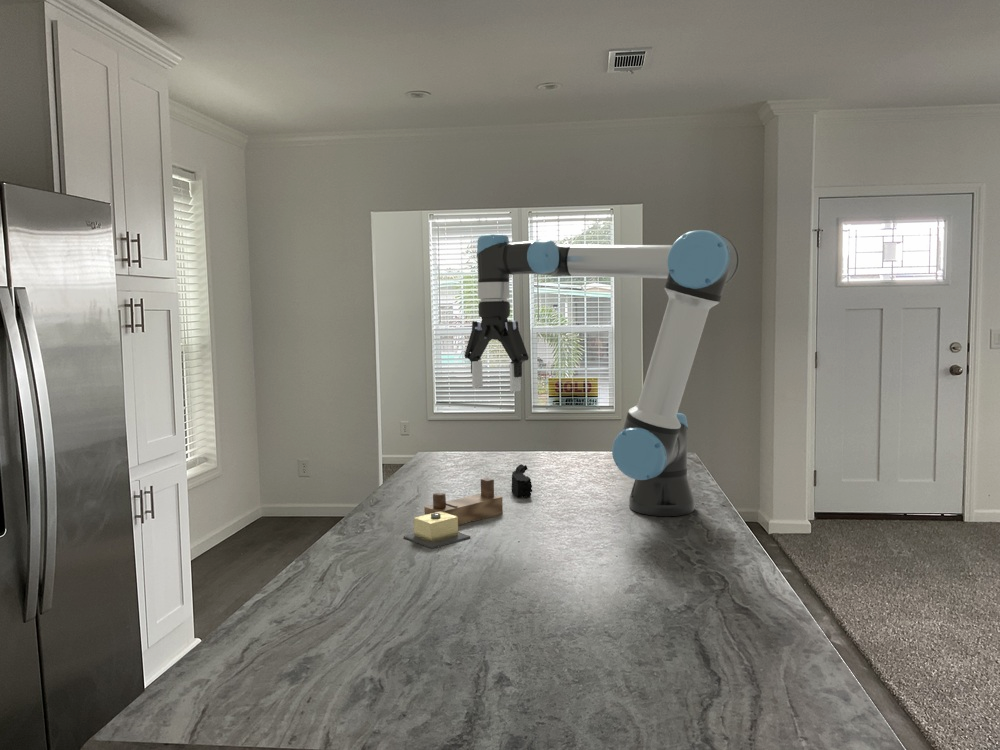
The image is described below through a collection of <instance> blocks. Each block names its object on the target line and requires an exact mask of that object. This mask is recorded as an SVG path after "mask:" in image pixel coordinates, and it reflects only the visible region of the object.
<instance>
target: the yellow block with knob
mask: <svg viewBox="0 0 1000 750" xmlns="http://www.w3.org/2000/svg"><path fill="white" fill-rule="evenodd" d="M413 530H414V532H413V533H414V536H415V537H417V538H420V539H423V540H425V541H428V542H430V543H432V542H436V541H440V540H443V539H447V538H451V537H454V536H458V532H459V525H458V517H457V516H454V515H451V514H447V513H444V512H441V511H440V512H436V513H431V514H427V515H425V514H423V515H420V516H415V517H413Z"/></svg>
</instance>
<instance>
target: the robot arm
mask: <svg viewBox="0 0 1000 750" xmlns="http://www.w3.org/2000/svg"><path fill="white" fill-rule="evenodd" d="M509 240H510V239H509V236H508V235H507V234H502V233H501V234H500V233H499V234H498V233H497V234H496V233H494V234H491V233H490V234H483V235H480V236H479V237H478V238H477V245H476V247H477V250H476V257H477V299H478V300H480V301H479V302H478V316H479V318H481V320H473V321H472V323H471V324H472V325H471V331H470V335H469V339H468V342H467V345H466V348H465V352H464V358H465V359H468V360H469V361H470V372H471V375H472V376H471V379H472V380H471V381H472V382H471V383H472V384H471V385H472V386H471V387H472V389H478V388H483V387H484V380H483V361H482V358H481V357H482V356H483V355H484V353H485V350H486V349H487V347H488V345H489V343H490V341H493V340H495V341H498V342H499V343H501V345H502V347H503V349H504V350H505V352H506V354H507V356H508V357H509V359H510V363H509V391H510V392H511V393H512V392H513V393H514V392H520V391H522V388H521V387H522V386H521V385H522V384H521V383H522V382H521V379H522V378H521V377H522V376H523V368H522V367H523V365H522V364H523V362H525V361H528V360H529V354H528V352H527V349H526V347H525V344H524V341H523V338H522V336H521V333H520V329H519V322H518V321H517V320H508V318H509V317H510V316H511V303H510V301H508V300H509V299H510V298H511V297H510V295H511V294H510V275H511V276H512V275H513V276H514V275H538V276H539V275H541V276H542V275H543V276H552V277H570V276H571V277H598V278H599V277H600V278H601V277H603V278H633V279H634V278H637V279H638V278H640V279H666V282H665V285H664V291H665V293H666V294H667V297H668V301H667V304H666V308H665V311H664V314H663V318H662V321H661V325H660V327H659V332H658V334H657V338H656V341H655V344H654V348H653V352H652V353H651V354H652V355H651V358H650V362H649V365H648V368H647V372H646V375H645V378H644V381H643V385H642V388H641V392H640V395H639V399H638V402H637V404H636V405H635V406H633V407H630V408H629V409H628V412H627V415H626V417H625V420H624V425H623V427H622V430H621V431H620V432H618V434H617V435H616V437H615V438H614V440H613V443H612V447H611V448H612V449H611V454H612V459H613V462H614V464H615V465H616V467H617V469H618V470H619V471H620V472H621V473H622V474H623V475H625V476H626V477H628V478H630V479H633V480H634V482H633V485H632V488H631V492H630V495H629V497H628V498H629V499H628V502H629V503H628V507H629V509H630V510H632V511H633V512H636V513H639V514H643V515H647V516H654V517H678V516H684V515H688V514H691V513H693V512H694V511H695V498H694V496H693V492H692V488H691V485H690V482H689V480H688V479H689V478H688V429H689V425H688V418H687V416H686V415H685V413H681V412H679V408H680V406H681V403H682V399H683V396H684V393H685V389H686V387H687V383H688V380H689V377H690V374H691V370H692V367H693V364H694V360H695V357H696V355H697V350H698V348H699V343H700V341H701V337H702V334H703V331H704V328H705V325H706V321H707V318H708V316H709V311H710V310H711V309H712V308H713V307H716V305H719V304H720V302H721V298H722V296H723V292H724V289H725V287H726V285H727V284H728V283H729V282H730V281H731V280H733V278H734V277H735V276H736V275H737V272H738V270H739V267H740V254H739V250H738V248H737V247H736V245H735V244H734V243H733V242H732V240H730V239H729V238H727V237H725V236H723V235H721V234H719V233H717V232H714V231H713V230H704V229H697V230H692V231H688V232H686V233H683V234H682V235H680V237H678V238H677V239H676V240H675V241H674V242H673V244H556V243H555V242H554V241H553V240H551V239H545V240H544V239H536V240H528V241H516V242H515V241H514V242H513V241H512V242H510V241H509Z"/></svg>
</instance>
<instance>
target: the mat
mask: <svg viewBox="0 0 1000 750" xmlns="http://www.w3.org/2000/svg"><path fill="white" fill-rule="evenodd" d="M467 538H469V539H471V536H470V535H468V534H465V533H462V532H459V531H458V536H454V537H451V538H447V539H443V540H440V541H436V542H432V543H430V542H428V541H425V540H423V539H420V538H417V537H415V536H414V532H413V533H410V534H406V535H403V539H406V540H408V541H411V542H413V543H416V544H418V543H419V544H418V545H421V546H423V545H424V547H426V546H427V548H428V547H429V548H428V549H431V548H433V549H436V548H435V547H437V548H439V547H438V546H440V547H443V546H442V545H444V546H446V545H445V544H447V545H450V544H449V543H451V544H454V543H457V542H456V541H458V542H461V541H460V540H462V541H464V540H463V539H465V540H468V539H467ZM453 542H454V543H453Z"/></svg>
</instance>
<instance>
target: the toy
mask: <svg viewBox="0 0 1000 750" xmlns="http://www.w3.org/2000/svg"><path fill="white" fill-rule="evenodd" d="M527 470H529V469H528V466H527V465H524V464H521V463H520V464H519V465H517V466H516V468H515V470H514V471H512V472H511V493H512V494H513V495H514V497H515V498H516V499H518V498H530V497H531V496H532V493H533V489H532V488H533V485H532V480H531V478H530V477H529V476H528V475H527V476H526V475H525V474H524V473H526V471H527Z"/></svg>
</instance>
